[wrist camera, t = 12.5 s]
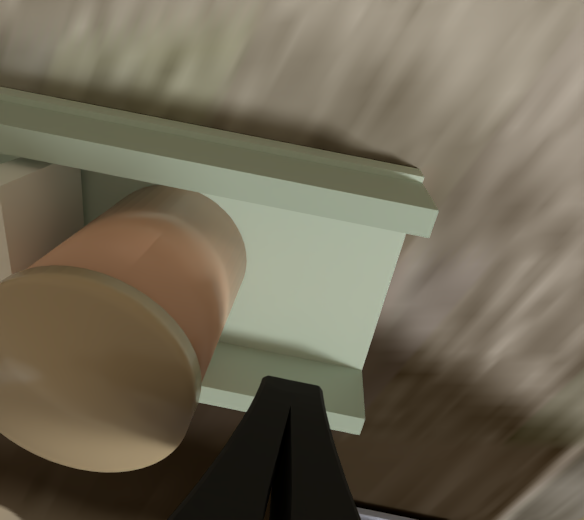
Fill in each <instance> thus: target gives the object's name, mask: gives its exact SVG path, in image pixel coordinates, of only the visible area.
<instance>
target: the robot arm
mask: <svg viewBox="0 0 584 520" xmlns="http://www.w3.org/2000/svg"><path fill="white" fill-rule="evenodd" d="M271 487H272V491H271ZM270 491H271V504H270V517H269V520H417V519H412V518H407V517H403V516H398V515H393V514H388V513H383V512H378V511H373V510H368V509H363V508H359V507H356V505H355V503H354V500H353V497H352V495H351V492H350V489H349V486H348V484H347V481H346V478H345V475H344V472H343V469H342V466H341V463H340V460H339V457H338V454H337V451H336V447H335V444H334V440H333V437H332V433H331V429H330V425H329V421H328V417H327V413H326V408H325V403H324V397H323V390H322V389H321V388H320V386H318V385H313V384H308V383H303V382H298V381H293V380H288V379H283V378H279V377H274V376H269V375H267V376H265V377H263V378H262V380H261V383H260V386H259V388H258V390H257V393H256V395H255V397H254V399H253V401H252V403H251V405H250V407H249V408H248V410H247V412H246V413H245V415H244V417H243V419H242V420H241V422H240V423H239V425H238V427H237V428H236V430H235V431H234V433H233V434H232V436H231V437H230V439H229V440H228V442H227V444H226V445H225V446H224V448H223V449H222V451H221V452H220V454H219V455H218V456H217V458H216V459H215V460H214V462H213V463H212V464H211V466H210V467H209V468H208V470H207V471H206V472H205V474H204V475H203V476H202V478H201V479H200V480H199V482H198V483H197V484H196V486H195V487H194V488H193V489H192V491H191V492H190V493H189V494H188V495H187V497H186V498H185V499H184V500H183V502H182V503H181V504H180V505H179V506H178V507H177V509H176V510H175V511H174V512H173V513H172V514H171V516H170V517H169V518H168V519H167V520H263V519H264V515H265V511H266V507H267V503H268V499H269V495H270Z"/></svg>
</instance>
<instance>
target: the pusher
mask: <svg viewBox="0 0 584 520" xmlns="http://www.w3.org/2000/svg"><path fill="white" fill-rule="evenodd" d="M83 227H84V216H83V199H82V183H81V169H78V168H73V167H68V166H63V165H58V164H53V163H48V162H43V161H38V160H33V159H28V158H23V157H19V158H16V159H14V160H11V161H8V162H5V163H2V164H0V281H2V280H4V279H5V278H7V277H8V276H10V275H12V274H14V273H17V272H19V271H22V270H25V269H27V268H28V267H29V266H31V265H32V264H33V263H35V262H36V261H38V260H39V259H40V258H42V257H43V256H45V255H46V254H47V253H49V252H50V251H51V250H53V249H54V248H56V247H57V246H58V245H60V244H61V243H62V242H64V241H65V240H67V239H68V238H69V237H71V236H72V235H73V234H75V233H76V232H78V231H79V230H80V229H82V228H83Z"/></svg>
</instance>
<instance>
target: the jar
mask: <svg viewBox="0 0 584 520" xmlns="http://www.w3.org/2000/svg"><path fill="white" fill-rule="evenodd" d="M246 264H247V257H246V249H245V244H244V241H243V239H242V236H241V234H240V232H239V230H238V228H237V226H236V224H235V223H234V222H233V220H232V219H231V217H230V216H229V215H228V214H227V213H226V212H225V211H224V210H223V209H222V208H221V207H220V206H219V205H218V204H217V203H215V202H214V201H212V200H211V199H210V198H208V197H206V196H204V195H203V194H201V193H199V192H194V191H189V190H184V189H179V188H174V187H169V186H164V185H152V186H148V187H144V188H141V189H138V190H136V191H134V192H132V193H130V194H129V195H127V196H126V197H124V198H123V199H122V200H120V201H119V202H117V203H116V204H115V205H113V206H112V207H111V208H109V209H108V210H106V211H105V212H104V213H102V214H101V215H100V216H98V217H97V218H95V219H94V220H93V221H91V222H90V223H89V224H87V225H86V226H84V227H83V228H82V229H80V230H79V231H78V232H76V233H75V234H73V235H72V236H71V237H69V238H68V239H67V240H65V241H64V242H62V243H61V244H60V245H58V246H57V247H56V248H54V249H53V250H51V251H50V252H49V253H47V254H46V255H45V256H43V257H42V258H40V259H39V260H38V261H36V262H35V263H33V264H32V265H31V266H29V267H28V268H27V269H25V270H22V271H19V272H17V273H14V274H12V275H10V276H8V277H7V278H5V279H4V280H2V281H0V433H1V434H3V435H4V436H5V437H7V438H8V439H9V440H11V441H12V442H14V443H16V444H17V445H19V446H20V447H22V448H24V449H26V450H28V451H30V452H32V453H34V454H35V455H38V456H40V457H42V458H45V459H47V460H49V461H52V462H55V463H58V464H61V465H64V466H68V467H72V468H76V469H81V470H87V471H94V472H125V471H132V470H137V469H141V468H144V467H147V466H150V465H153V464H155V463H157V462H159V461H161V460H162V459H164V458H165V457H167V456H168V455H169V454H171V453H172V452H173V451H174V450H175V449H176V448H177V447H178V446H179V444H180V443H181V441H182V440H183V438H184V437H185V435H186V432H187V430H188V427H189V425H190V422H191V420H192V417H193V415H194V412H195V409H196V407H197V404H198V402H199V398H200V394H201V383H202V381H203V378H204V376H205V373H206V371H207V368H208V366H209V363H210V361H211V358H212V356H213V353H214V351H215V348H216V346H217V343H218V341H219V338H220V336H221V334H222V331H223V329H224V326H225V324H226V321H227V319H228V316H229V314H230V311H231V309H232V306H233V304H234V301H235V299H236V296H237V294H238V291H239V289H240V286H241V284H242V281H243V279H244V276H245V272H246Z"/></svg>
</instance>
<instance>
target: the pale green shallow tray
mask: <svg viewBox="0 0 584 520" xmlns="http://www.w3.org/2000/svg"><path fill="white" fill-rule="evenodd" d="M19 157H23V158H28V159H33V160H38V161H43V162H48V163H53V164H58V165H63V166H68V167H73V168H78V169H81V183H82V199H83V216H84V226H86V225H87V224H89V223H90V222H91V221H93V220H94V219H95V218H97V217H98V216H100V215H101V214H102V213H104V212H105V211H106V210H108V209H109V208H111V207H112V206H113V205H115V204H116V203H117V202H119V201H120V200H122V199H123V198H124V197H126V196H127V195H129V194H130V193H132V192H134V191H136V190H138V189H141V188H144V187H148V186H152V185H164V186H169V187H174V188H179V189H184V190H189V191H194V192H199V193H201V194H203V195H204V196H206V197H208V198H210V199H211V200H212V201H214V202H215V203H217V204H218V205H219V206H220V207H221V208H222V209H223V210H224V211H225V212H226V213H227V214H228V215H229V216H230V217H231V219H232V220H233V222H234V223H235V224H236V226H237V228H238V230H239V232H240V234H241V236H242V239H243V241H244V244H245V249H246V257H247V264H246V272H245V276H244V279H243V281H242V284H241V286H240V289H239V291H238V294H237V296H236V299H235V301H234V304H233V306H232V309H231V311H230V314H229V316H228V319H227V321H226V324H225V326H224V329H223V331H222V334H221V336H220V338H219V341H218V343H217V346H216V348H215V351H214V353H213V356H212V358H211V361H210V363H209V366H208V368H207V371H206V373H205V376H204V378H203V381H202V383H201V394H200V398H199V403H204V404H209V405H214V406H219V407H224V408H229V409H234V410H239V411H244V412H247V410H248V408H249V407H250V405H251V403H252V401H253V399H254V397H255V395H256V393H257V390H258V388H259V386H260V383H261V380H262V378H263V377H265V376H267V375H269V376H274V377H279V378H283V379H288V380H293V381H298V382H303V383H308V384H313V385H318V386H320V388H321V389H322V390H323V397H324V403H325V408H326V413H327V417H328V421H329V425H330V429H333V430H337V431H342V432H347V433H352V434H357V435H360V432H361V429H362V427H363V424H364V421H365V410H364V396H363V381H362V368H363V365H364V362H365V359H366V356H367V352H368V349H369V346H370V343H371V340H372V337H373V334H374V331H375V328H376V325H377V322H378V318H379V315H380V312H381V309H382V306H383V303H384V300H385V297H386V294H387V291H388V288H389V285H390V281H391V278H392V275H393V272H394V269H395V266H396V263H397V260H398V257H399V254H400V251H401V248H402V244H403V241H404V238H405V235H406V234H411V235H416V236H421V237H426V238H429V237H430V234H431V232H432V229H433V226H434V223H435V220H436V217H437V215H438V212H439V210H438V208H437V207H436V205H435V203H434V202H433V200H432V198H431V197H430V195H429V193H428V192H427V190H426V188H425V187H424V185H423V180H424V176H423V174H422V173H421V171H420V170H419V169H417V168H412V167H407V166H402V165H397V164H392V163H387V162H382V161H377V160H372V159H367V158H362V157H356V156H351V155H346V154H341V153H336V152H331V151H326V150H321V149H316V148H311V147H306V146H300V145H295V144H290V143H285V142H280V141H275V140H270V139H265V138H260V137H255V136H250V135H244V134H239V133H234V132H229V131H224V130H219V129H214V128H209V127H204V126H199V125H194V124H189V123H183V122H178V121H173V120H168V119H163V118H158V117H153V116H148V115H143V114H138V113H133V112H127V111H122V110H117V109H112V108H107V107H102V106H97V105H92V104H87V103H82V102H77V101H72V100H66V99H61V98H56V97H51V96H46V95H41V94H36V93H31V92H26V91H21V90H16V89H10V88H5V87H0V164H2V163H5V162H8V161H11V160H14V159H16V158H19Z"/></svg>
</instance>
